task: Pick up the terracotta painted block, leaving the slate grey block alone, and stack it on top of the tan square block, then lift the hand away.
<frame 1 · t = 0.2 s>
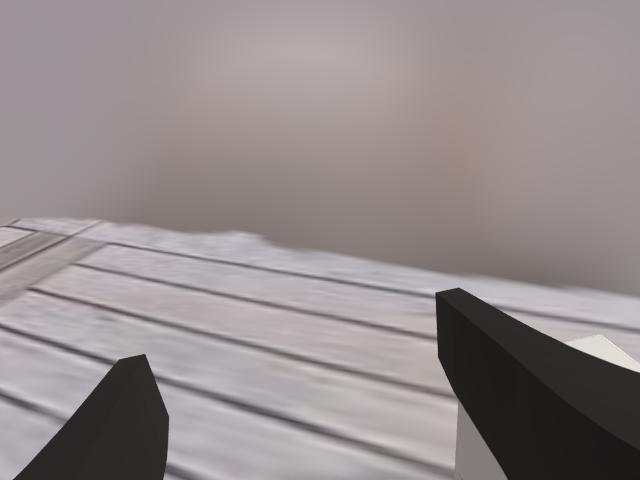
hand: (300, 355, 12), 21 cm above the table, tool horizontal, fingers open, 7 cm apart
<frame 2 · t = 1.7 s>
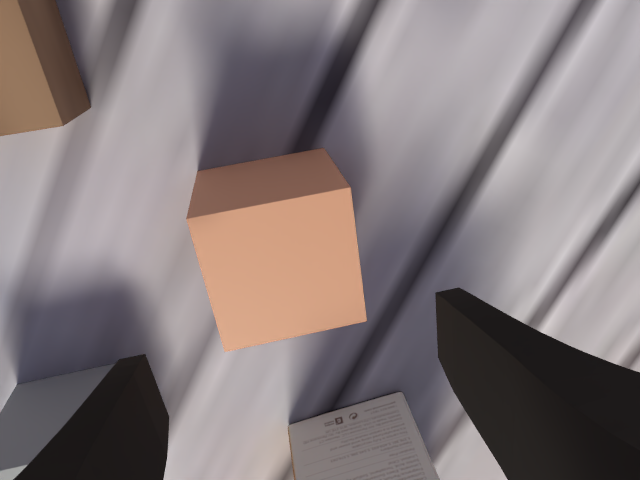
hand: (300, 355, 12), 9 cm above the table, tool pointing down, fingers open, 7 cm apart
small box: (357, 454, 27), on the table
slate grey block: (94, 411, 23), on the table
terracotta block: (272, 216, 20), on the table
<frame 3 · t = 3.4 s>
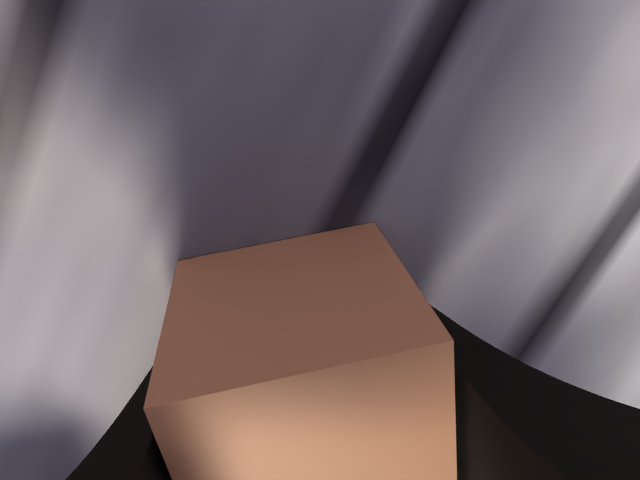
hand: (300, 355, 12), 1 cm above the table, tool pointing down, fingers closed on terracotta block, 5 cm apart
terracotta block: (294, 322, 13), on the table, touching gripper
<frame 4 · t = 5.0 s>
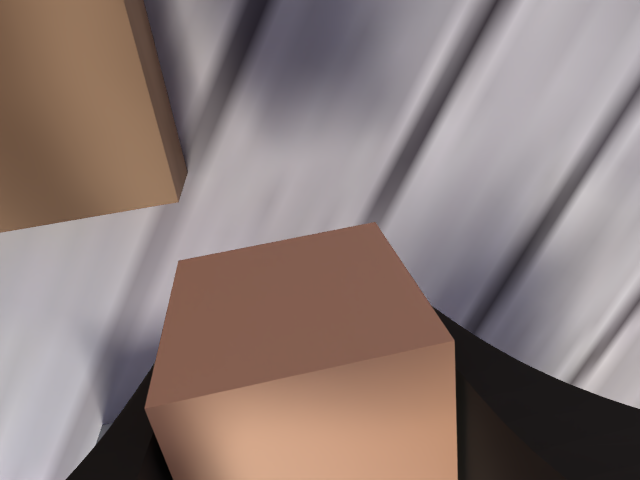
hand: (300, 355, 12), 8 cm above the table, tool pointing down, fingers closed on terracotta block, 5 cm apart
tan square block: (18, 62, 16), on the table
terracotta block: (294, 322, 13), point 7 cm above the table, touching gripper
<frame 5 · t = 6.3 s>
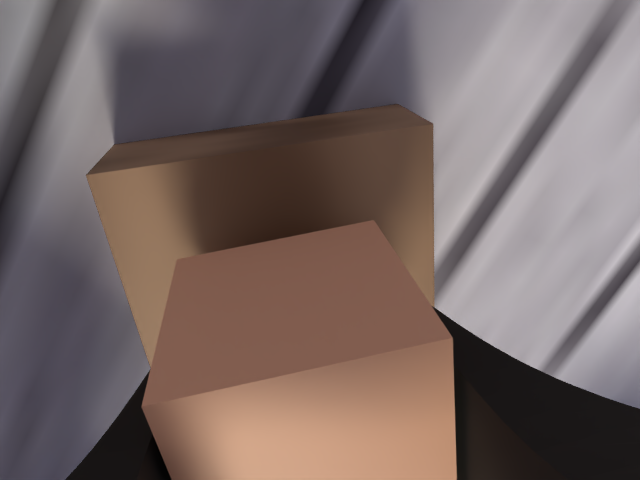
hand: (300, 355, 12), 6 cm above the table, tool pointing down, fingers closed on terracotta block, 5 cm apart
tan square block: (279, 245, 18), on the table
terracotta block: (293, 320, 13), point 4 cm above the table, touching gripper
when the fingers open (6 cm above the table, at t = 6.9 s): terracotta block drops 1 cm, resting on tan square block.
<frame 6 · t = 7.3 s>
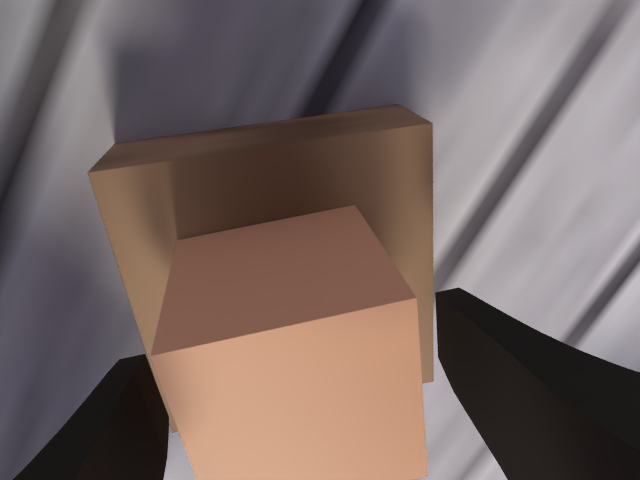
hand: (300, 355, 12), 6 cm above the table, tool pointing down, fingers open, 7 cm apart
tan square block: (279, 244, 18), on the table, touching terracotta block
terracotta block: (283, 297, 15), point 3 cm above the table, touching tan square block
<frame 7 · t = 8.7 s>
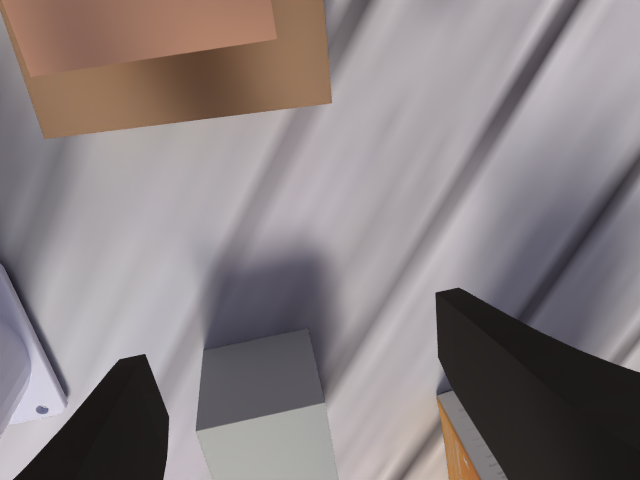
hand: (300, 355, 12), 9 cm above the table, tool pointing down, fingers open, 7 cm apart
small box: (490, 425, 28), on the table
slate grey block: (265, 378, 24), on the table
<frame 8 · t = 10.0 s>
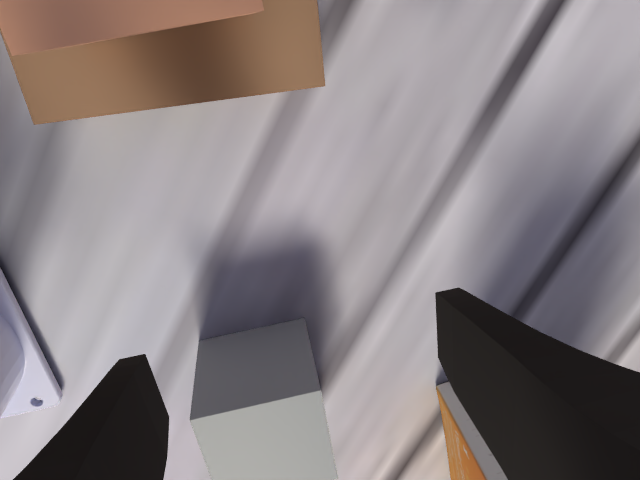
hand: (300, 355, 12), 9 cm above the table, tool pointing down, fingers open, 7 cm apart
small box: (491, 416, 28), on the table
slate grey block: (262, 369, 24), on the table
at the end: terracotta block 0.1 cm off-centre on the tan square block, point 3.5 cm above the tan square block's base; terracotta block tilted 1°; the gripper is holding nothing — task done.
